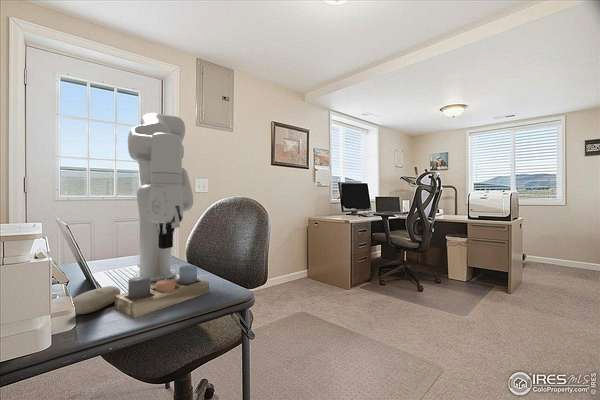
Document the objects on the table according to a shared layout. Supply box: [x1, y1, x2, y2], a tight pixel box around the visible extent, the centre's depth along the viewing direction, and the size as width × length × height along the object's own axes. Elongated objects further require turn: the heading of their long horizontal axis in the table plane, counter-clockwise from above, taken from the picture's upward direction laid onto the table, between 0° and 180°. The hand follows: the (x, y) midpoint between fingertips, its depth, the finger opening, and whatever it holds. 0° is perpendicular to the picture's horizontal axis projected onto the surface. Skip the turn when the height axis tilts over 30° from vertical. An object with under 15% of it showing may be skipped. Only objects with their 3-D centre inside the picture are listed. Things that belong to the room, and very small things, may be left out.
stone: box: [71, 285, 121, 315], centre depth 71 cm, size 6×6×12 cm
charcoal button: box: [127, 276, 151, 298], centre depth 72 cm, size 5×5×4 cm
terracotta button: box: [155, 279, 175, 293], centre depth 77 cm, size 5×5×4 cm
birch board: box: [114, 278, 210, 319], centre depth 78 cm, size 10×21×3 cm, turn 147°
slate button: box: [178, 264, 198, 284], centre depth 83 cm, size 5×5×4 cm
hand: (165, 247), depth 78 cm, fingers closed
